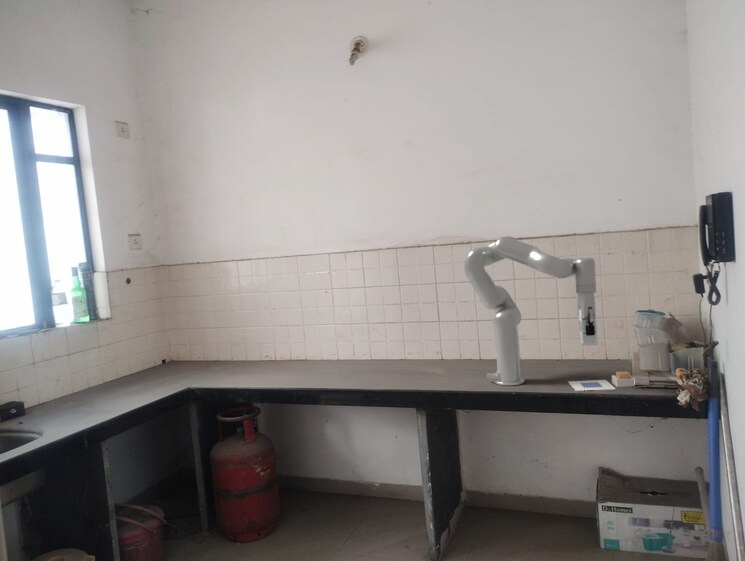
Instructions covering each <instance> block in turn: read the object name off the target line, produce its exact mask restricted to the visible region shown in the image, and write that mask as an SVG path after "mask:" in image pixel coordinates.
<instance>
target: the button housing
mask: <svg viewBox="0 0 745 561" xmlns="http://www.w3.org/2000/svg"><path fill="white" fill-rule="evenodd" d="M630 376H631V378H628V379H618V378H617V377H616V374H612V375H611V383H612V385H613V386H615V388H616V387H617V388H628V387H631V388H632V386H633V387H635V386H634V379H633V377H634V376H632V375H631V374H630Z"/></svg>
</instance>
